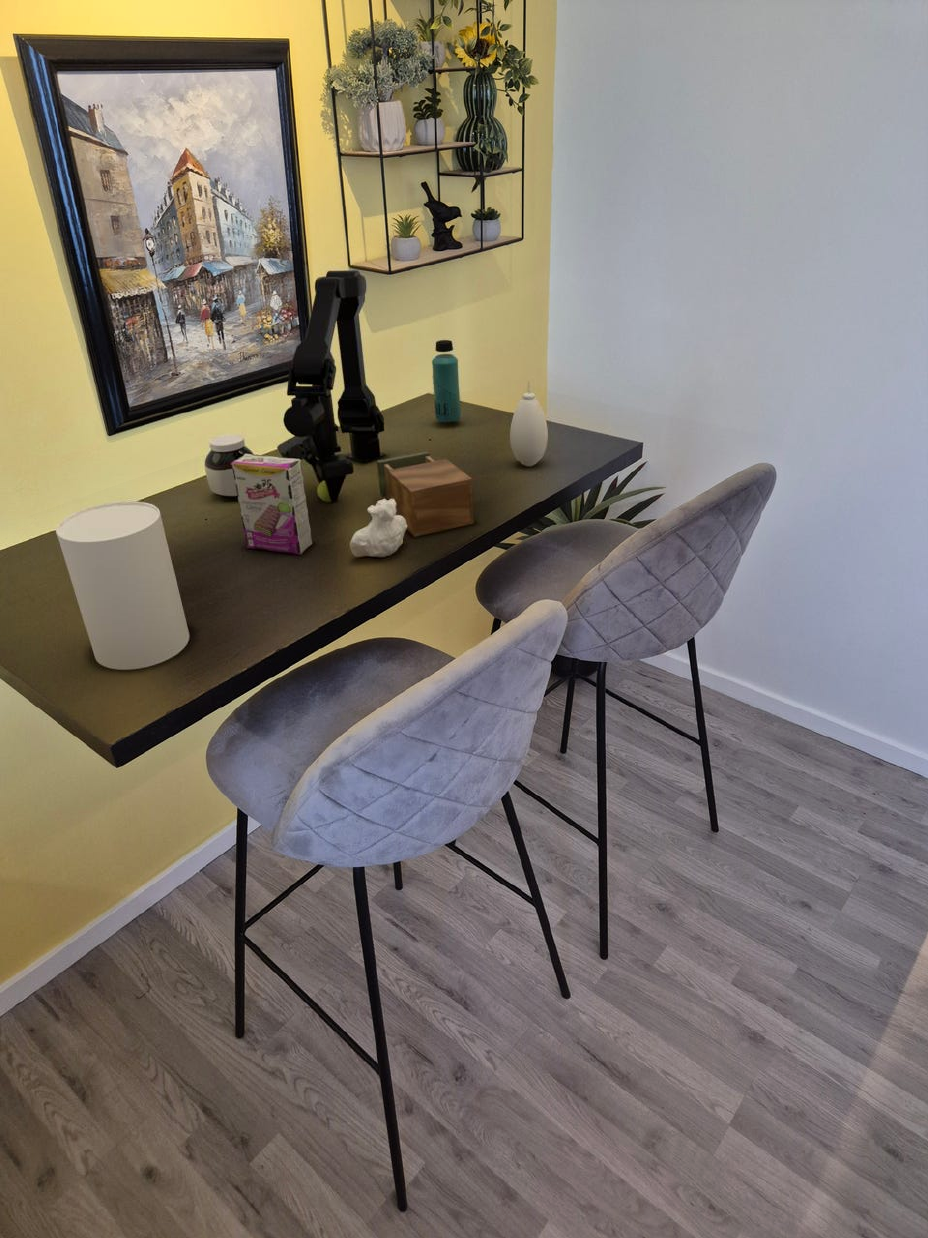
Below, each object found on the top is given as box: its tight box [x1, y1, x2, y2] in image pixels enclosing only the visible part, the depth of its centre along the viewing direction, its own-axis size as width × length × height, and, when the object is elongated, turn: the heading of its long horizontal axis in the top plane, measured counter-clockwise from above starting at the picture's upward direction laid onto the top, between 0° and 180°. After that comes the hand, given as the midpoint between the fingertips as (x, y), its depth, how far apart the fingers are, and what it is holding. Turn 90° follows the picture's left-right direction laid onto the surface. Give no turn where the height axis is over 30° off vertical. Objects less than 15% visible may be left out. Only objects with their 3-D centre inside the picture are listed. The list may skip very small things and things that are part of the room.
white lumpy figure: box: [349, 498, 407, 558], centre depth 149 cm, size 12×8×11 cm
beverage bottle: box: [431, 339, 462, 423], centre depth 207 cm, size 6×7×20 cm
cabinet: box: [388, 458, 475, 538], centre depth 161 cm, size 12×12×9 cm
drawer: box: [376, 450, 436, 500], centre depth 169 cm, size 12×11×7 cm
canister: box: [55, 500, 190, 671], centre depth 123 cm, size 14×14×20 cm
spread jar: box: [204, 433, 255, 501], centre depth 177 cm, size 12×11×12 cm
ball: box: [316, 481, 332, 503], centre depth 172 cm, size 4×4×4 cm
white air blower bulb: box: [509, 380, 549, 467], centre depth 181 cm, size 8×8×18 cm
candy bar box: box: [231, 454, 313, 555], centre depth 151 cm, size 11×5×16 cm, turn 71°
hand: (329, 496), depth 173 cm, fingers open, 6 cm apart
